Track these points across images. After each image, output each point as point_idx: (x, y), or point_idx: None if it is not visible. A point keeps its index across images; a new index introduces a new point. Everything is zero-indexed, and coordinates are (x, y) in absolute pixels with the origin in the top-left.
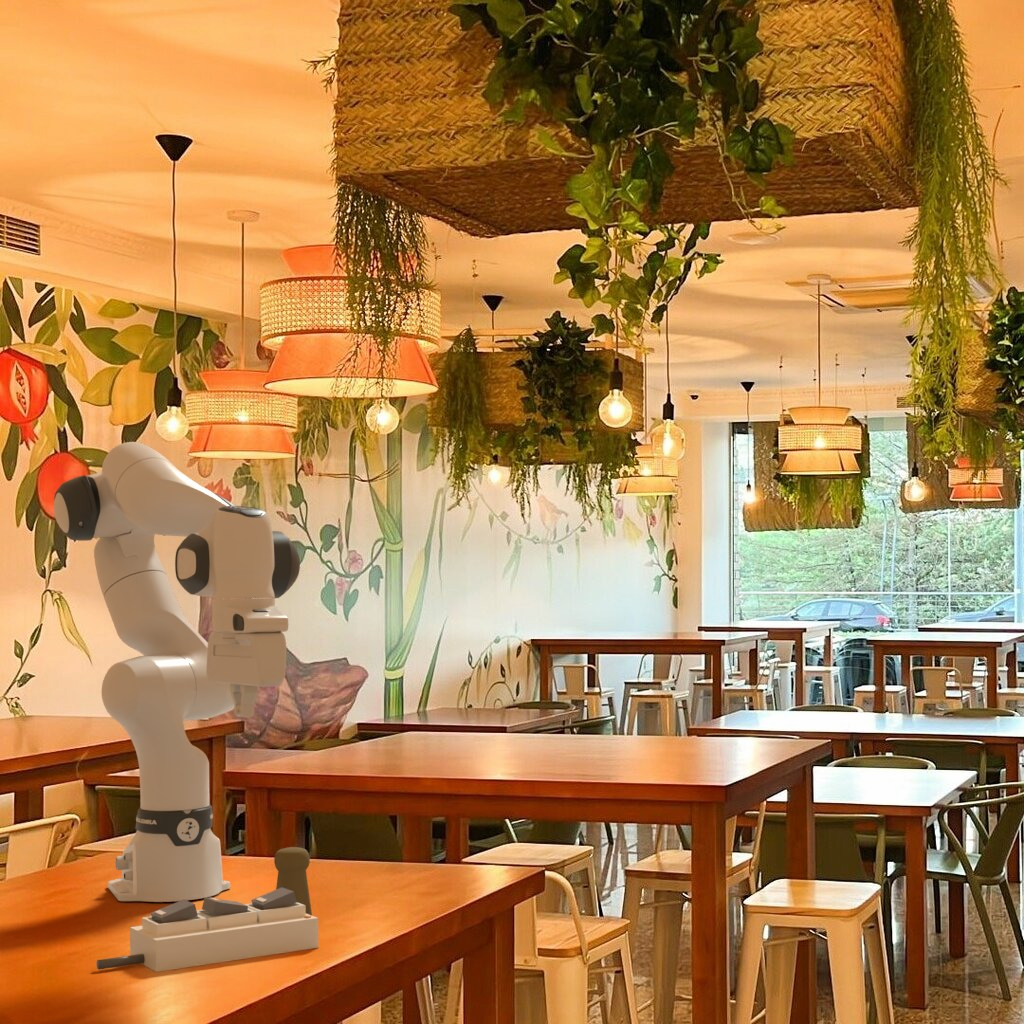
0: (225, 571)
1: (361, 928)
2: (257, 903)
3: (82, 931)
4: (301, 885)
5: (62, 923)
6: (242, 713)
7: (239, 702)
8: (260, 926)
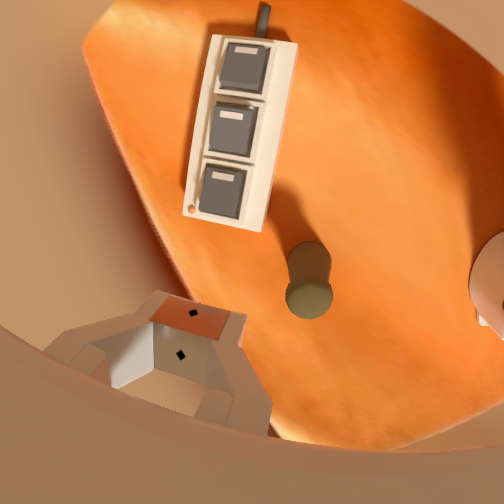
0: None
1: (235, 288)
2: (224, 170)
3: (449, 99)
4: (290, 280)
5: (491, 115)
6: (153, 294)
7: (211, 361)
8: (191, 147)
